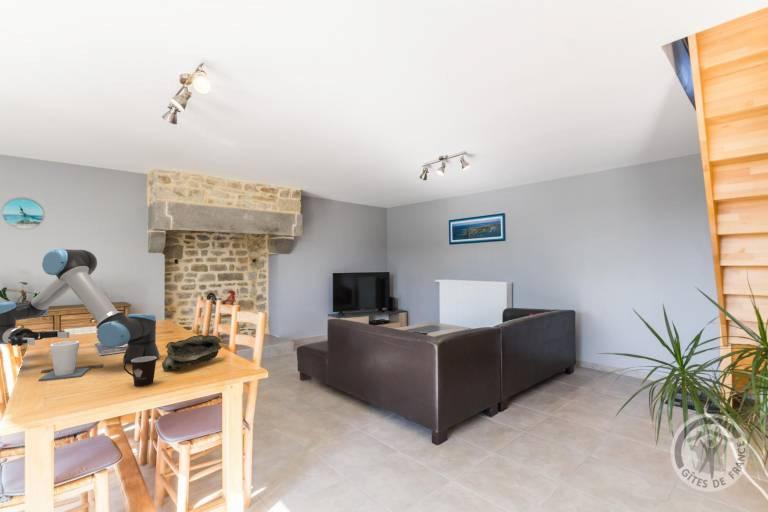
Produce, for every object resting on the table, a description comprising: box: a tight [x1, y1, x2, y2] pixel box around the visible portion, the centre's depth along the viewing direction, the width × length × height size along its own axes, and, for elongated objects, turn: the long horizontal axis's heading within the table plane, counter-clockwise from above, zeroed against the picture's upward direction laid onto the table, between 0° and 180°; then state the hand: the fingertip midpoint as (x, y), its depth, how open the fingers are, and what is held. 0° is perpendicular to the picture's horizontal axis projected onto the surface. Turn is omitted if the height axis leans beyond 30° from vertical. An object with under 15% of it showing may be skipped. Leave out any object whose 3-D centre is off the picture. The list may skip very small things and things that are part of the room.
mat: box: [38, 367, 92, 382], centre depth 158 cm, size 14×12×1 cm
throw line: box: [40, 363, 104, 374], centre depth 166 cm, size 22×2×1 cm, turn 113°
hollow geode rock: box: [161, 334, 223, 372], centre depth 175 cm, size 28×13×15 cm
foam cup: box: [49, 340, 80, 376], centre depth 158 cm, size 10×9×13 cm
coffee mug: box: [123, 356, 157, 388], centre depth 148 cm, size 12×9×10 cm
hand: (51, 338), depth 164 cm, fingers open, 13 cm apart
